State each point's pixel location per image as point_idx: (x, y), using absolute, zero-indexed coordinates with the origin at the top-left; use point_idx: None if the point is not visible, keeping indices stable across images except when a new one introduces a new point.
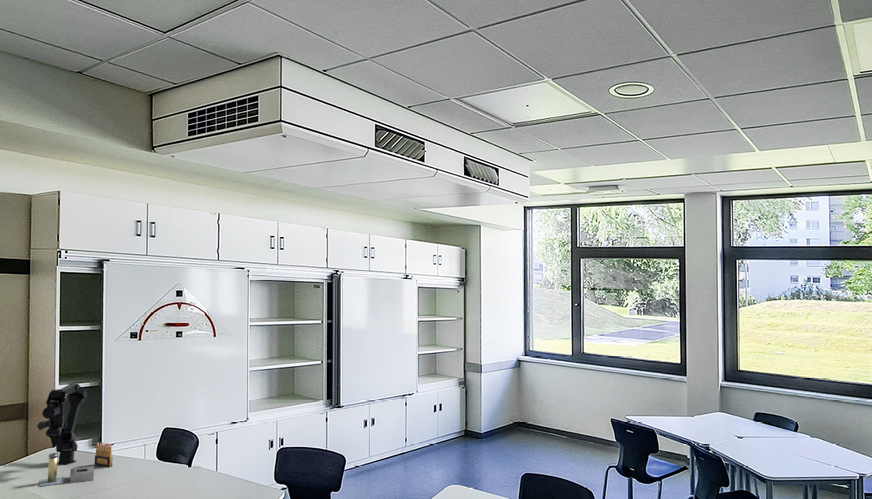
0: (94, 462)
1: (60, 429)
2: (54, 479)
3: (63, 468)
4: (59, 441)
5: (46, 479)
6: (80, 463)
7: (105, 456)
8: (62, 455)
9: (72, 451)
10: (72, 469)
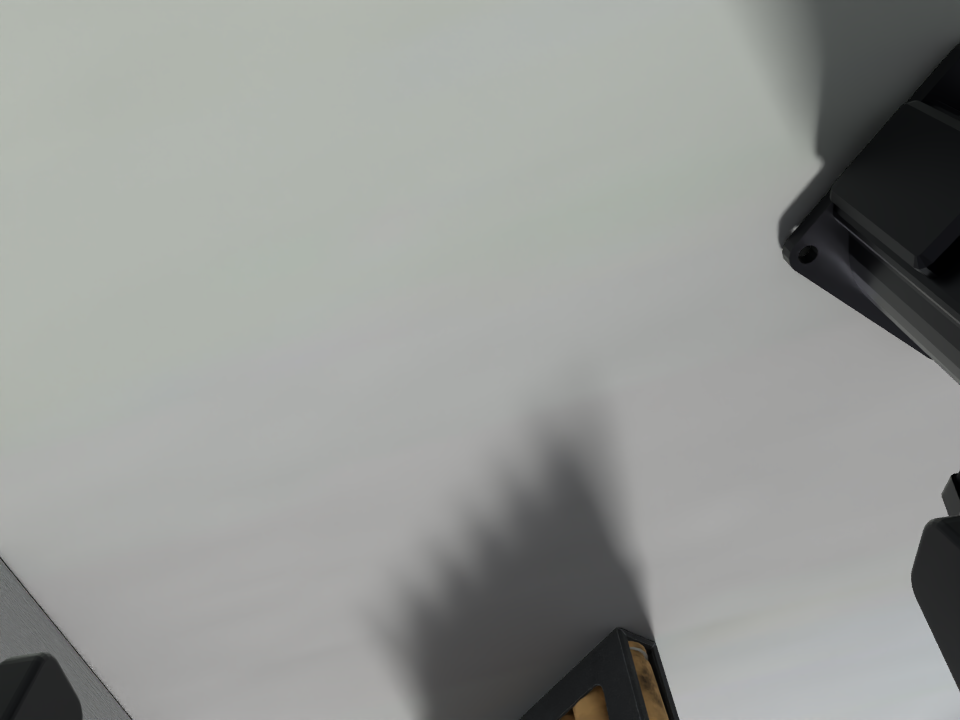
0: (625, 660)
1: None
2: None
3: (544, 280)
4: (937, 631)
5: None
6: (781, 444)
7: None
8: (943, 256)
9: (950, 483)
10: None
